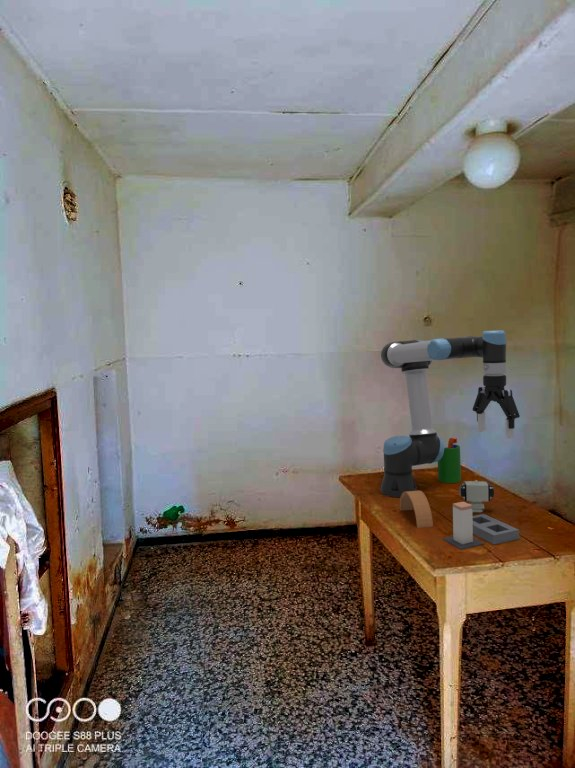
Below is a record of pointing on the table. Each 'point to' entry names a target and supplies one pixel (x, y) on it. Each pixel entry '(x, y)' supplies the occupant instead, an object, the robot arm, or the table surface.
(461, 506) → the plug
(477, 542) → the mat
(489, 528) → the grey boxy piece
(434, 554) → the table surface
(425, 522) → the arch
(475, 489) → the pneumatic valve
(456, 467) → the green tall piece
